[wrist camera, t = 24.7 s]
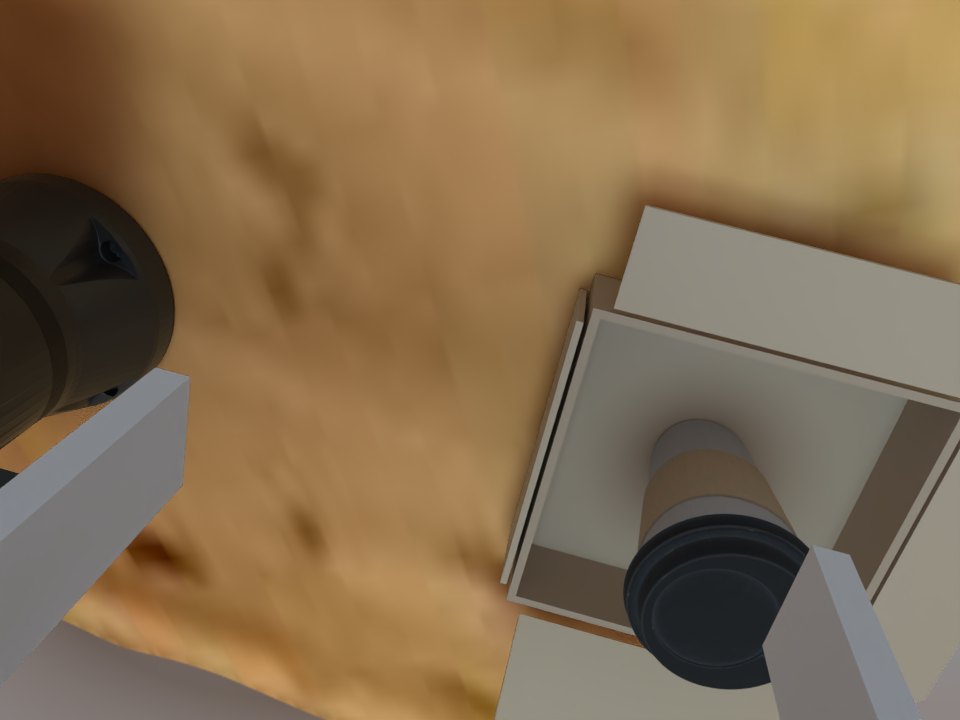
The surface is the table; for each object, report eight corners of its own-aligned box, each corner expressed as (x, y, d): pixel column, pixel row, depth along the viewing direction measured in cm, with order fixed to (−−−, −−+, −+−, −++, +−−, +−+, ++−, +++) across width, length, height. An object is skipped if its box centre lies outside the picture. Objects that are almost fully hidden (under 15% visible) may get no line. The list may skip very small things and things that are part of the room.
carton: (507, 539, 55) (496, 597, 50) (612, 174, 44) (612, 197, 39) (884, 643, 54) (915, 713, 49) (1087, 293, 43) (1155, 334, 38)
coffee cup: (771, 522, 51) (829, 707, 38) (622, 521, 53) (626, 698, 39) (778, 389, 48) (846, 540, 34) (618, 393, 49) (621, 538, 36)
